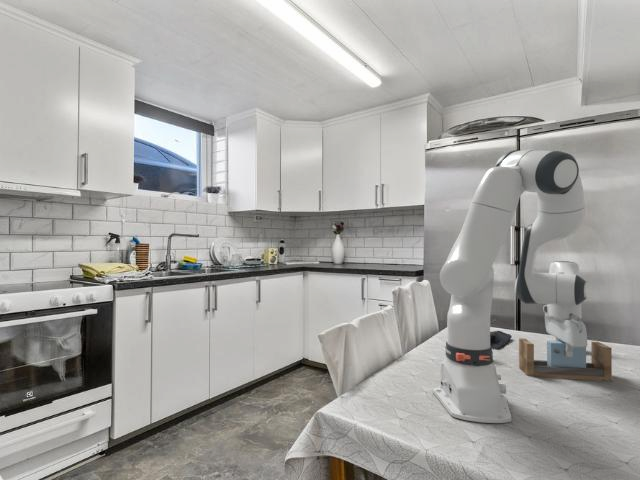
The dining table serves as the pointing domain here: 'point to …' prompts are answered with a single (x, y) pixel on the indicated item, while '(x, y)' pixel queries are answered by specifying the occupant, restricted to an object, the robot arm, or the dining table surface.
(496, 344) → the dark grey flat piece
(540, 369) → the wooden rack
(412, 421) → the dining table surface
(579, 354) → the door panel
